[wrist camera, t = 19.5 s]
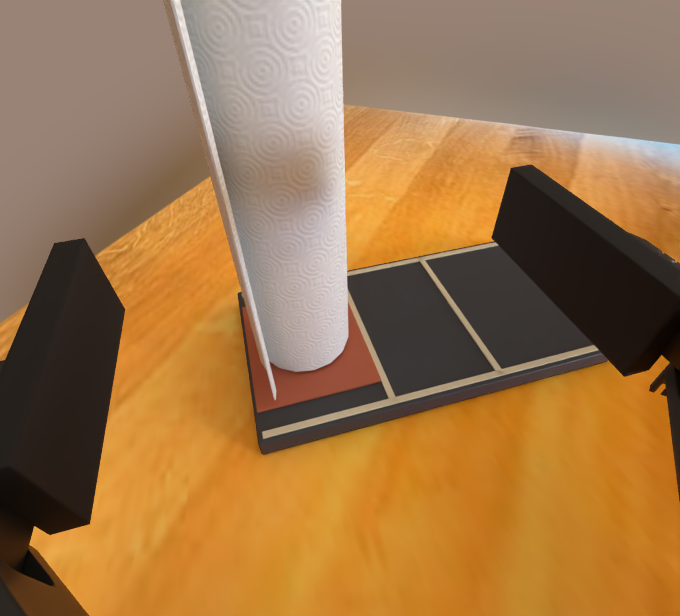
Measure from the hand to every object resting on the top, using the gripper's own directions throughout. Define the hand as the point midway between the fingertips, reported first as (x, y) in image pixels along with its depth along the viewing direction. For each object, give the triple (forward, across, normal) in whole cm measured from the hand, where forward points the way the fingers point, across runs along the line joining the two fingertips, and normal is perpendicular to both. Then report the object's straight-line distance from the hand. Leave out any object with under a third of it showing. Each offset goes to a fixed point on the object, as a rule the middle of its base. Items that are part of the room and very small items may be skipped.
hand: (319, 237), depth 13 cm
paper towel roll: (+7, -1, -13) cm, 15 cm away
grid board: (+7, +7, -14) cm, 18 cm away
